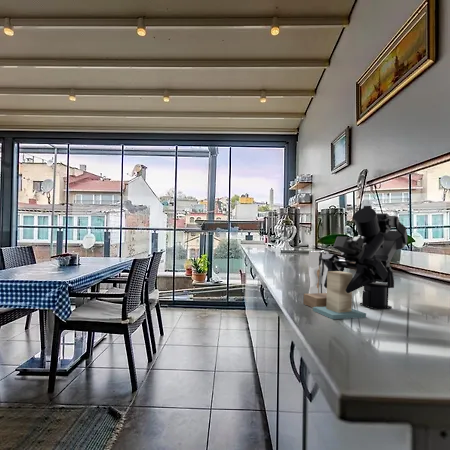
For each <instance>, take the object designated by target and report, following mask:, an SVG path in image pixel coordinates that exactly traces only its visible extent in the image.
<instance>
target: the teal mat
mask: <svg viewBox="0 0 450 450" xmlns="http://www.w3.org/2000/svg"><path fill="white" fill-rule="evenodd" d="M312 311H313V312H316V313H318V314H320V315H322V316H325V317H327V318H328V319H331V320H339V319H340V320H343V319H359V318H360V319H361V318H367V313H365V312H363V311H360V310H357V309H354V308H352V311H350V312H341V313H338V312H335V311H332V310H328V309H326V307H313V308H312Z"/></svg>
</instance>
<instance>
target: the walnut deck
mask: <svg viewBox="0 0 450 450" xmlns="http://www.w3.org/2000/svg"><path fill="white" fill-rule="evenodd" d="M326 302H327V292H326V293H312V294H309V293H303V303H302V304H303V305H306V306H308V307H310V308H312V309H313V307H326Z"/></svg>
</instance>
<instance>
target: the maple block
mask: <svg viewBox="0 0 450 450" xmlns="http://www.w3.org/2000/svg"><path fill="white" fill-rule="evenodd" d="M353 274H354V273H353V272H349V271H348V272H347V271H343V272H342V271H328V272H327V288H326V293H327V302H326V309H328V310H332V311H335V312H338V313H341V312H350V311H352V309H353V308H352V307H353V303H352V302H353V291H352V292H350V293H347V292H346V288H347V286H348V284H349V283H350V281H351V280H352V278H353V277H354V275H353Z"/></svg>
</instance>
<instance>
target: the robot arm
mask: <svg viewBox="0 0 450 450" xmlns="http://www.w3.org/2000/svg"><path fill="white" fill-rule="evenodd" d="M372 207H373V206H372V205H363V208H360V209H358V210H356V211H355V213H353V215H352V216H353V217H352V218H353V221H354V224H355V228H356V231H357V234H358V236H354V237H350V236H336V238H335V241H334V243H333V246H332V247H333V249H335V250H338V251H339V252H340V253H341V254H340V256H341V257H342V258H344V259H340V257H339V256H338V255H337V254H332V253H329V254H324V256H323V257H322V258H321V260H322V261H323V263H324V264H325V265H326V267H327V268H328V271H342V272H345V269H349V271H350V270H351V271H354V272H355V271H356V272H355V274H354V275H353V278H352V280H351V281H350V283H349V284H348V286H347V288H346V292H347V293H350V292H352V293H353V292H355V291H357V290H359V289H360V288H361V289H362V288H363V289H362V298H361V299H362V302H359V305H361V306H363V307H367V308H370V309H373V310H377V309H379V310H382V309H393V306H392V305H389V289H394V288H395V278H394V272H393V270H392V267H391V266H390V265H391V264H390V263H391V261H392V258H393V257H394V255H395V253H396V252H397V251H399V250H402V249H404V247H406V245H407V244H408V239H409V238H408V233H407V232H408V231H407V228H406V226H405V225H403V223H402V222H400V218H399V216H398V215H390V214H388V213H383V212H382V213H381V212H379V213H377V211H376V210H375V209H373V208H372ZM394 228H395V230H394ZM392 229H393V230H392ZM328 271H327V272H328ZM324 287H325V288H326V289H327V275H326V279H325V283H324Z"/></svg>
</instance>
